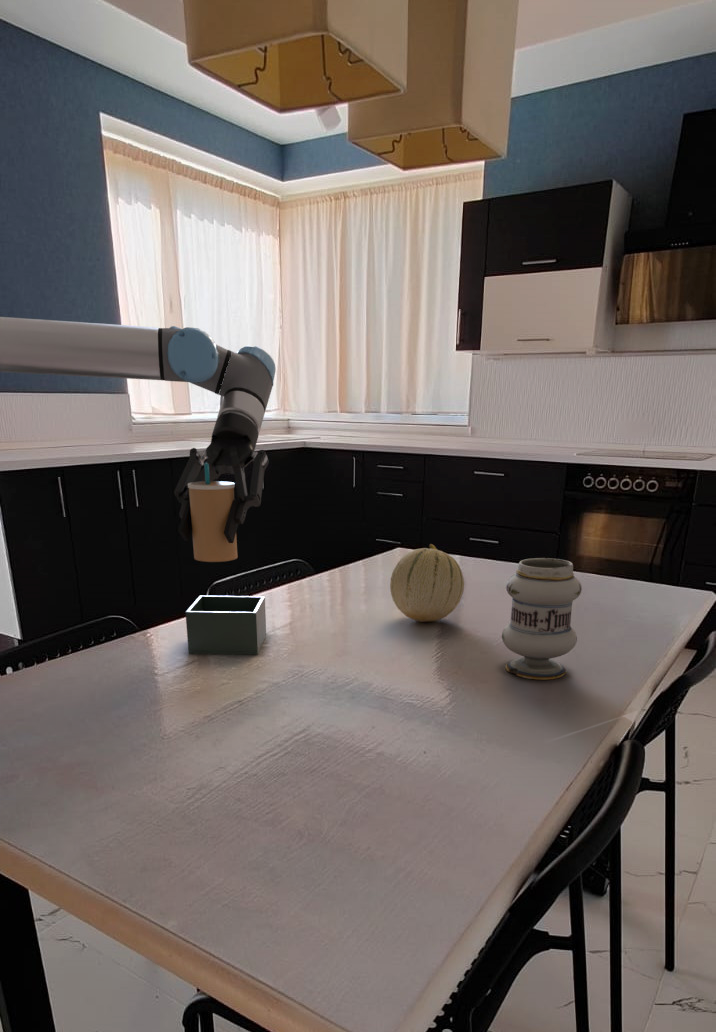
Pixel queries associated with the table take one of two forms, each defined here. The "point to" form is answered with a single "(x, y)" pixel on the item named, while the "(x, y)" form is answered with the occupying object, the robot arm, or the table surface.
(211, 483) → the drink cup
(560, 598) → the apothecary jar
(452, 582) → the cantaloupe
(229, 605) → the bin
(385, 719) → the table surface
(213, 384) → the robot arm
